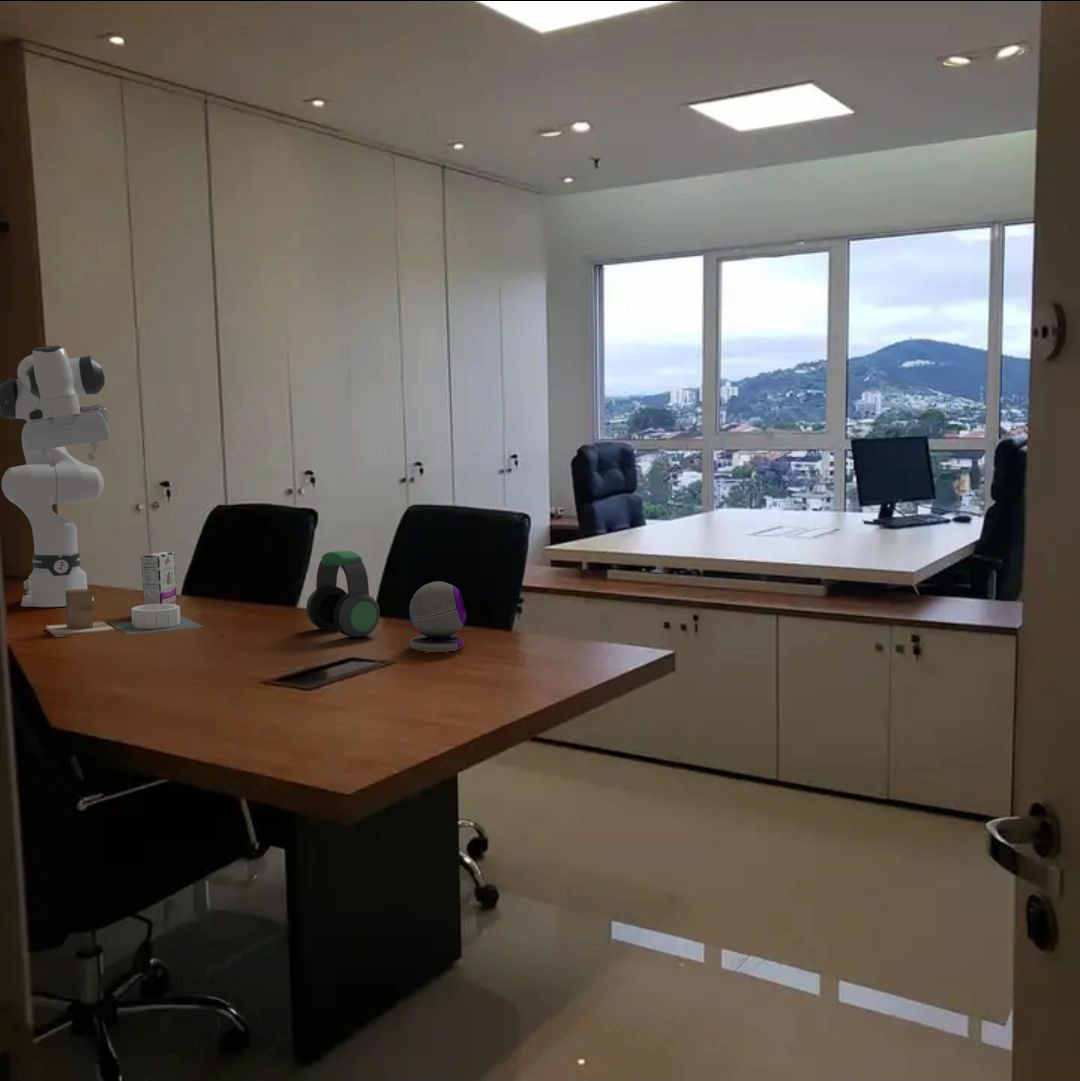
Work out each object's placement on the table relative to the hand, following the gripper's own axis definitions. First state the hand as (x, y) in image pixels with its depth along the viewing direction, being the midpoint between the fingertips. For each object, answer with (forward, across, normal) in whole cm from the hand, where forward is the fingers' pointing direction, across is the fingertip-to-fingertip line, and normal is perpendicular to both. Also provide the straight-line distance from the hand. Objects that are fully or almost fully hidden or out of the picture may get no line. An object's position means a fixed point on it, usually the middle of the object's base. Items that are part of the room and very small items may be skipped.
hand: (72, 463), depth 274 cm
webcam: (+52, -70, +68) cm, 110 cm away
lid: (+40, +6, +21) cm, 45 cm away
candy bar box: (+42, -13, +6) cm, 45 cm away
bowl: (+42, -12, +21) cm, 48 cm away
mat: (+42, -12, +21) cm, 48 cm away
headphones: (+49, -53, +45) cm, 85 cm away
